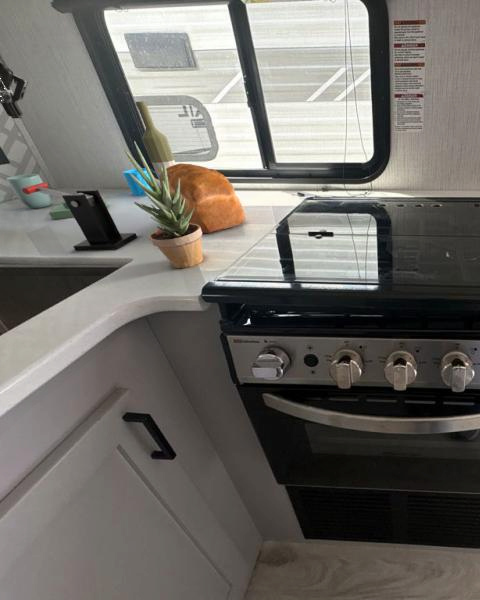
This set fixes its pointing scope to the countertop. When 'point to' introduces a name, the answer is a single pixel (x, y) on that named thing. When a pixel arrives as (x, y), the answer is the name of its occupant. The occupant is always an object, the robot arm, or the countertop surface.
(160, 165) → the bottle
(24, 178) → the cup
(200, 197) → the bread
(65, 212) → the button block
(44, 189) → the lever
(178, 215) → the potted plant
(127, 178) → the mug
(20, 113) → the robot arm
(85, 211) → the bracket
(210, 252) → the countertop surface
